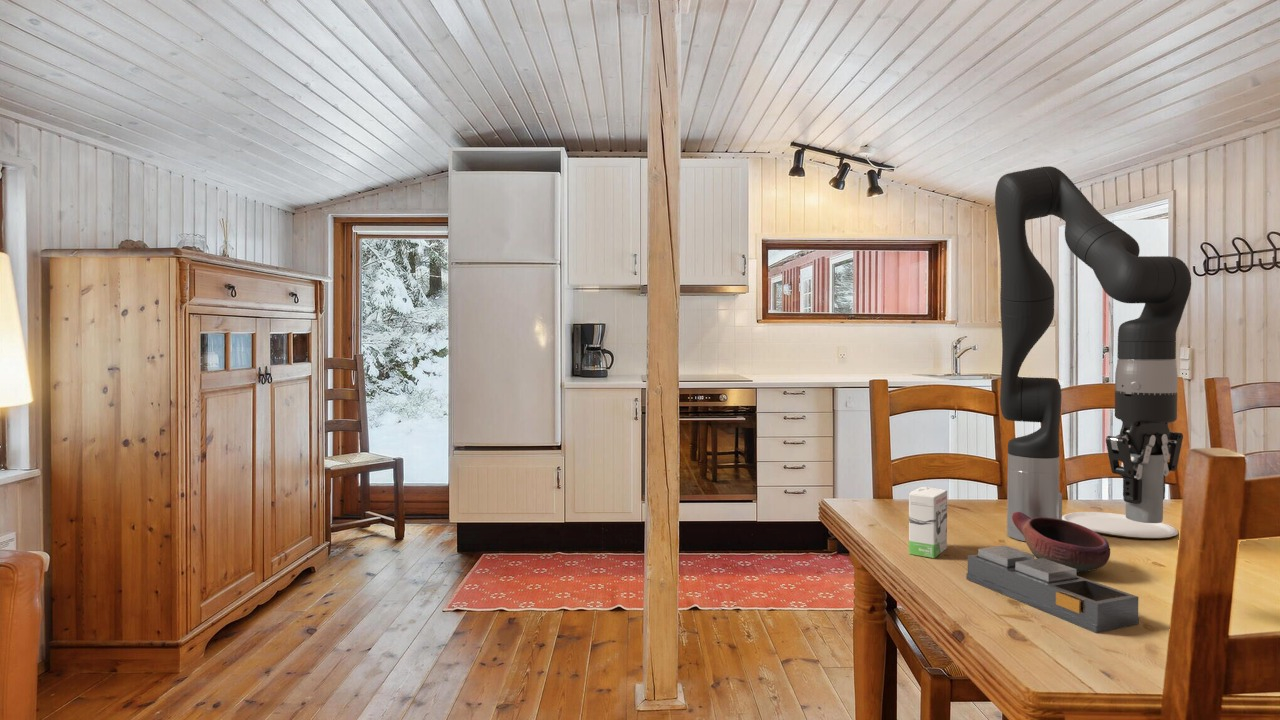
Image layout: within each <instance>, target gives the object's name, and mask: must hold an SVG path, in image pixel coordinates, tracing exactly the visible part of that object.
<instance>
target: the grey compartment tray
mask: <svg viewBox="0 0 1280 720" xmlns="http://www.w3.org/2000/svg"><path fill="white" fill-rule="evenodd" d="M977 550H978V552H977V553H976V554H971V555H967V572H966V575H965V576H966V580H968V581H970V582H972V583H975V584H977V585H979V586H982V587H985V588H986V589H989V590H991V591H993V592H996V593H999V594H1002V595H1003V596H1006V597H1008V598H1010V599H1014V600H1015V601H1018V602H1021V603H1022V604H1025V603H1026V604H1025V605H1027V604H1028V606H1029V607H1033V608H1034V609H1037V610H1040V611H1042V612H1045V613H1046V614H1050V615H1052V616H1054V617H1057V618H1059V619H1061V620H1064V621H1066V622H1069V623H1071V624H1074V625H1076V626H1079V627H1080V628H1083V629H1085V630H1089V631H1090V632H1092V633H1095V634H1098V633H1102V632H1103V633H1104V632H1107V631H1113V630H1117V629H1122V628H1128V627H1133V626H1138V625H1140V616H1139V596H1137V595H1134V594H1131V593H1129V592H1126V591H1123V590H1120V589H1117V588H1114V587H1110V586H1108V585H1105V584H1101V583H1099V582H1096V581H1094V580H1091V579H1088V578H1084V577H1083V576H1082V577H1081V576H1079V575H1077V572H1076V571H1077V569H1074V568H1071V567H1068V566H1065V565H1062V564H1059V563H1056V562H1053V561H1050V560H1047V559H1044V558H1039V559H1038V558H1035V556H1034V555H1033V553H1028V552H1025V551H1023V550H1019V549H1017V548H1014V547H1010V546H1007V545H1005V544H1004V545H997V546H990V547H982V548H978V549H977Z"/></svg>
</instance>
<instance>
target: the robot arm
mask: <svg viewBox="0 0 1280 720" xmlns="http://www.w3.org/2000/svg"><path fill="white" fill-rule="evenodd" d="M995 186H996V187H995V193H994V206H995V216H996V217H995V218H996V225H997V236H998V246H999V257H1000V259H999V260H1000V263H999V264H1000V297H999V299H1000V300H999V302H1000V305H999V306H1000V324H1001V325H1000V326H1001V344H1002V345H1001V347H1002V348H1001V351H1002V352H1001V353H1002V354H1001V374H1000V375H1001V376H1000V393H999V395H1000V396H999V397H1000V398H999V402H1000V403H999V406H1000V412H1001V416H1002V417H1003V418H1004V420H1007V421H1012V422H1025V423H1041V427H1040V428H1038V430H1036V431H1034V432H1032V433H1029V434H1025V435H1022V436H1018V437H1015V438H1011V439H1010V440H1008V443H1007V489H1006V490H1007V492H1006V493H1007V498H1006V499H1007V501H1006V502H1007V503H1006V504H1007V505H1006V510H1007V511H1006V534H1007V536H1008V537H1010V538H1012V539H1014V540H1019V541H1022V542H1026V541H1025V538H1024V536H1023V534H1022V533H1021V532H1020V531H1019V530H1018V528H1017V527H1016V526H1015V525H1014V523H1013V520H1012V515H1013V513H1015V512H1021V513H1024V514H1025V515H1027V516H1028V517H1030V518H1031V519H1032V518H1037V517H1047V518H1056V519H1061V520H1062V516H1063V494H1062V492H1060V424H1061V423H1060V422H1061V413H1062V410H1061V409H1062V386H1061V384H1060V382H1059V381H1058V379H1056V378H1054V377H1029V376H1028V377H1022V376H1018V375H1019V372H1020V370H1021V367H1022V366H1023V365H1022V364H1024V361H1025V359H1026V358H1027V356H1028V354H1029V353H1030V352H1031V350H1032V349H1033V348H1034V346H1035V345H1036V344H1037V342H1038V341H1039V340H1040V339H1041V338H1042V337H1043V335H1044V334H1045V333H1046V331H1048V329H1049V327H1050V326H1051V325H1052V322H1053V321H1054V316H1055V285H1054V282H1053V279H1052V277H1051V276H1050V275H1049V273H1048V272H1047V270H1046V269H1045V268H1044V266H1043V265H1042V264H1041V262H1040V261H1039V260H1038V259H1037V257H1036V256H1035V255H1034V253H1033V252H1032V249H1031V248H1030V247H1029V243H1028V239H1027V233H1026V232H1027V231H1026V222H1027V221H1029V220H1034V219H1040V218H1045V217H1048V216H1050V215H1051V216H1054V217H1057V218H1060V219H1061V220H1062V221H1064V222H1065V223H1064V224H1065V226H1064V240H1065V243H1066V246H1067V247H1068V249H1069V250H1070V252H1072V254H1073V255H1074V256H1075V257H1077V258H1078V259H1079V260H1080V261H1082V262H1083V263H1084V264H1085V265H1087V266H1088V267H1089V268H1090V269H1091V270H1092V271H1093V272H1094V275H1095V277H1096V280H1098V281H1099V284H1100V286H1101V288H1102V290H1103V291H1104V293H1106V295H1108V296H1109V297H1110V298H1111V299H1113V300H1116V301H1117V302H1120V303H1124V304H1144V306H1143V309H1142V310H1141V313H1140V315H1139V316H1138V318H1135V319H1130V320H1127V321H1124V322H1122V323H1121V324H1119V327H1118V329H1117V355H1116V356H1117V362H1116V366H1115V373H1114V374H1115V375H1114V377H1115V378H1114V387H1115V388H1114V418H1116V419H1118V420H1120V421H1121V422H1122V425H1121V429H1120V431H1119V434H1117V435H1115V436H1114V435H1113V436H1111V435H1108V436H1106V438H1105V443H1106V444H1105V445H1106V449H1107V455H1108V460H1109V465H1110V469H1111V472H1112V474H1115V475H1119V476H1120V477H1122V497H1123V498H1122V499H1123V501H1124V502H1125V503H1126V502H1128V503H1132V504H1140V503H1141V502H1142V480H1140V479H1141V476H1142V472H1143V468H1144V466H1145V465H1147V464H1148V462H1149V458H1150V455H1159V454H1161V453H1163V454H1164V481H1163V501H1164V500H1166V499H1165V498H1166V477H1167V476H1169V473H1170V472H1172V471H1173V472H1175V471H1177V469H1178V464H1179V458H1180V453H1181V449H1182V444H1183V439H1184V435H1183V433H1182V432H1178V431H1177V432H1176V431H1171V430H1170V428H1169V425H1168V424H1169V423H1174V422H1176V421H1177V419H1178V381H1179V380H1178V379H1179V378H1178V377H1179V376H1178V368H1177V360H1176V357H1177V355H1176V354H1177V351H1176V350H1177V346H1176V345H1177V331H1178V328H1179V325H1180V322H1181V320H1182V317H1183V314H1184V310H1185V309H1186V305H1187V302H1188V299H1189V296H1190V292H1191V288H1192V276H1191V272H1190V269H1189V268H1188V266H1187V263H1185V262H1184V261H1183V260H1182V259H1180V258H1178V257H1176V256H1175V257H1174V256H1169V255H1168V256H1167V255H1163V256H1162V255H1161V256H1158V255H1156V256H1153V255H1151V256H1145V255H1144V256H1142V255H1141V256H1140V245H1139V243H1138V241H1137V240H1136V239H1135V238H1134V237H1133V236H1132V235H1130V233H1127V232H1126V231H1125V230H1123V229H1122V228H1120V227H1119V226H1117V225H1116V223H1115V224H1114V222H1111V221H1110V220H1109V219H1107V218H1106V217H1105V216H1103V214H1101V213H1100V212H1099V211H1098V210H1097V209H1096V208H1095V207H1094V206H1093V204H1092V203H1091V202H1090V201H1089V200H1088V198H1087V197H1086V196H1085V195H1084V193H1082V191H1081V190H1080V189H1079V188H1078V187H1077V186H1076V184H1075V183H1074V182H1073V180H1071V179H1070V178H1069V177H1068V176H1067V175H1066V173H1064V172H1063V171H1062V170H1061V169H1059V168H1057V167H1055V166H1051V165H1050V166H1049V165H1047V166H1039V167H1034V168H1029V169H1024V170H1019V171H1018V170H1017V171H1013V172H1009V173H1005V174H1003V175H1002V176H1001V177H1000V178H999V179H998V181H997V184H996V185H995ZM1130 454H1137V455H1141V456H1140V457H1138V458H1135V457H1131V456H1130ZM1168 461H1169V462H1168ZM1120 462H1121V465H1120ZM1132 463H1135V468H1134V470H1133V466H1132Z"/></svg>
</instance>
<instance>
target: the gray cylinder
mask: <svg viewBox="0 0 1280 720" xmlns="http://www.w3.org/2000/svg"><path fill="white" fill-rule="evenodd" d="M1130 456H1131V457H1135V458H1138V457H1140V456H1141V455H1137V454H1130ZM1132 466H1133V470H1134V468H1135V463H1132ZM1140 480H1142V502H1141V503H1140V504H1132V503H1128V502H1125V515H1126V518H1128V519H1130V520H1133V521H1137V522H1143V523H1161V522H1162V523H1164V521H1163V520H1164V500H1163V481H1164V454H1163V453H1161V454H1159V455H1150V458H1149V462H1148V464H1147V465H1145V466H1144V468H1143V472H1142V476H1141V479H1140Z"/></svg>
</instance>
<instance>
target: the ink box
mask: <svg viewBox="0 0 1280 720" xmlns="http://www.w3.org/2000/svg"><path fill="white" fill-rule="evenodd" d="M947 547H948V490H947V489H940V488H935V487H928V486H920V487H918V488H917V489H914V490H912V491H910V492H909V494H908V554H909V555H913V556H919V557H925V558H931V559H935V558H937V557H938V556H939V555H940V554H941V553H943V552H944V551H945V550H946V549H947Z"/></svg>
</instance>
